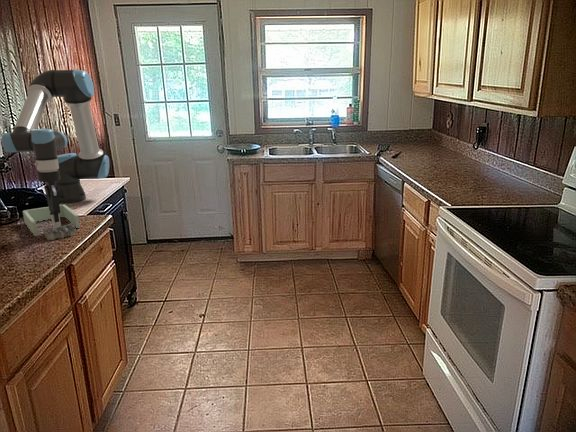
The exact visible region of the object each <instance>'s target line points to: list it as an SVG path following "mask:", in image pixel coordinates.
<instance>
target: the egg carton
mask: <svg viewBox="0 0 576 432" xmlns="http://www.w3.org/2000/svg"><path fill="white" fill-rule="evenodd" d="M43 234H44V238H46V240H47V241H54V240H56V239H64V237H65V238H66V237H74V236H75V234H76V235H77V229H76V228H75V227H74V226H73V225H72V223H70V222H69V224H63V225H61V226H59V227H54V228H53V227H46V228H45V229H44V230H43ZM73 235H74V236H73Z"/></svg>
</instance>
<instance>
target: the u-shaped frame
mask: <svg viewBox="0 0 576 432" xmlns="http://www.w3.org/2000/svg"><path fill="white" fill-rule="evenodd" d="M59 205H60V213H59V215H60V217H65V218H67V219H68V220H69V221H70V222H71V223H72V224H73V225H74V226H75V227H76V228H79V229H80V228H81V226H80V220H79V215H78V214H77V213H76V212H75V211H73V210H72V209H71V208H70V207H69V206H67V204H66V203H63V204H59ZM50 213H51V212H50V210H49V206H46V207H45V206H44V207H37V208H31V209H24V210H22V215H23V221H24V224H25V226H26V225H27V226H26V227H27V228H28V230H29V229H30V230H29V231H30V232H31V234H32V233H33V234H32V235H33V236H34V237H39V233H38V226H37V222H36V221H39V222H43V221H42V220H45V221H49V220H48V219H51V220H52V217H51V215H50ZM67 219H66V220H67ZM68 220H67V221H68ZM69 221H68V222H69ZM70 222H69V223H70Z"/></svg>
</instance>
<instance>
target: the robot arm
mask: <svg viewBox="0 0 576 432" xmlns="http://www.w3.org/2000/svg"><path fill="white" fill-rule="evenodd" d="M94 86H95V85H94V82H93V80H92V77H91V76H90V74H89V73H88V71H86V70H83V69H81V70H80V69H49V70H45V71H43V72H40V73H39V74H38V75H36V77H34V78H33V79H32V80H31V82H30V83H29V84H28V87H27V90H26V92H27V96H26V98H25V101H24V104H23V106H22V107H21V111H20V113H19V116H18V118H17V120H16V122H15V125H14V127H13V130H12V131H10V132H5V133H3V134H2V136H1V145H2V147H3V149H4V150H5V152H7V153H32V152H33V153H34V159H35V162H34V166H36V170H37V171H38V172H37V179H38V181H39V182H41V183H44V184H45V185H43V189H44V192H45V195H46V201H47V205H48V206H47V207H49V210H50V212H51V213H50V215H51V217H52V219H51V222H52V228H54V227H59V226H62V222H61V218H60V215H59V213H60V205H61V204H70V203H77V202H81V201H84V200H86V199H87V195H86V192H85V190H84V188H83V186H82V184H81V180H94V179H95V180H96V179H97V180H99V179H106V178H107V177H108V175H109V172H110V158H109V156H108V155H107V154H105V153H104V150H103V149H101V148H100V146H99V143H98V138H97V133H96V128H95V124H94V119H93V114H92V110H91V106H90V102H91V101H92V97H93V96H94V95H95V87H94ZM52 98H62V99H63V100H64V103H65V104H67V105H68V106H69V110H70V113H71V118H72V122H73V126H74V130H75V134H76V139H77V142H78V145H79V149H80V152H79V153H78V155H77V153H76V152H71V153H70V152H69V153H64V154H63V153H62V154H58V153H57V152H59V151H61V150H63V149H65V148H66V147H67V145H68V137H67V136H66V135H65V134H64V133H63V132H62V131H59V130H58V131H54V130H53V129H52V128H39V129H38V127H39V125H40V122H41V119H42V117H43V114H44V111H45V109H46V106H47V103H49V102H51V100H52Z"/></svg>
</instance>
